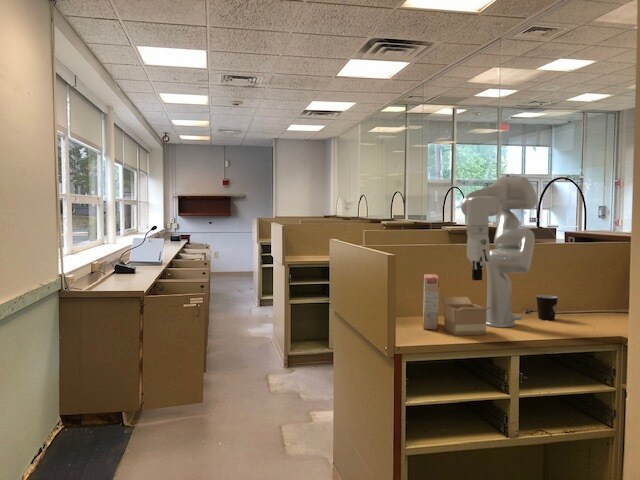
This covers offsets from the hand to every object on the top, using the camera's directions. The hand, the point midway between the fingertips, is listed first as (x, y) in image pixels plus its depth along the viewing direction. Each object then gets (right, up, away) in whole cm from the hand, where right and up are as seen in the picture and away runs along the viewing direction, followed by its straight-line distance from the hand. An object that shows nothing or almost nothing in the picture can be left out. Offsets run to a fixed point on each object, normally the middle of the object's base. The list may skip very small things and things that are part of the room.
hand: (477, 279), depth 181 cm
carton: (-2, -21, +10) cm, 23 cm away
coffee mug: (+43, -20, +35) cm, 60 cm away
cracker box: (-13, -21, +20) cm, 32 cm away
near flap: (-1, -11, +1) cm, 11 cm away
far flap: (-3, -10, +17) cm, 20 cm away
